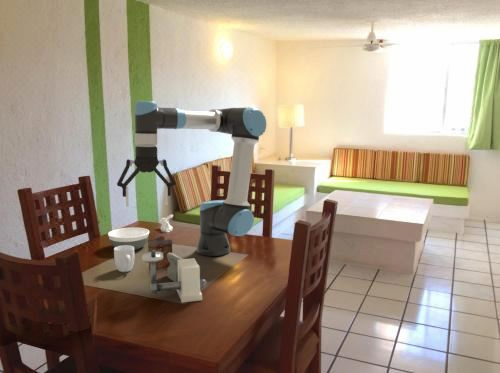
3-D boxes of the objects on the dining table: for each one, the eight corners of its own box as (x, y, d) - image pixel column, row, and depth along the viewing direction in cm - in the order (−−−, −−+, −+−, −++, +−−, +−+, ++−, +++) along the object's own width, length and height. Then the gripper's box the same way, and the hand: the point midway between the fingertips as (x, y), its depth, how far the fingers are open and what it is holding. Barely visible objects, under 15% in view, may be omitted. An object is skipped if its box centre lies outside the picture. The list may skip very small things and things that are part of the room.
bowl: (158, 247, 215) (158, 230, 214) (128, 258, 199) (127, 239, 198) (130, 241, 225) (129, 225, 223) (99, 251, 209) (98, 233, 208)
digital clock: (194, 283, 171) (194, 259, 169) (174, 286, 168) (173, 262, 166) (183, 271, 183) (182, 249, 182) (164, 274, 180) (163, 252, 178)
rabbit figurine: (158, 230, 245) (157, 213, 244) (172, 229, 248) (171, 212, 247) (162, 236, 234) (162, 218, 233) (177, 234, 237) (176, 216, 236)
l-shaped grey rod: (204, 284, 165) (203, 241, 162) (208, 291, 158) (208, 247, 155) (142, 291, 158) (141, 247, 156) (144, 298, 152) (142, 253, 149)
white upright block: (195, 287, 166) (195, 257, 165) (202, 300, 155) (201, 267, 153) (176, 289, 164) (175, 259, 162) (181, 302, 153) (181, 270, 151)
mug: (140, 273, 181) (139, 250, 179) (120, 277, 176) (119, 253, 175) (131, 265, 190) (130, 244, 188) (112, 269, 185) (111, 247, 184)
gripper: (180, 145, 167) (180, 202, 170) (109, 144, 160) (110, 204, 163) (183, 146, 160) (183, 206, 163) (108, 146, 153) (110, 208, 156)
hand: (147, 205), depth 163 cm, fingers open, 13 cm apart
